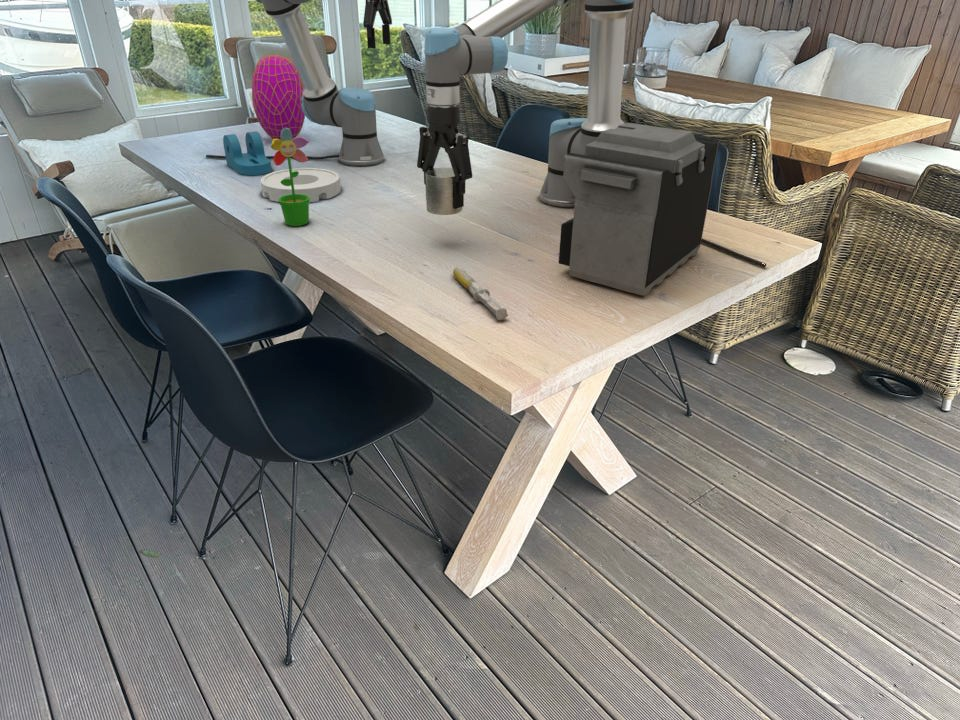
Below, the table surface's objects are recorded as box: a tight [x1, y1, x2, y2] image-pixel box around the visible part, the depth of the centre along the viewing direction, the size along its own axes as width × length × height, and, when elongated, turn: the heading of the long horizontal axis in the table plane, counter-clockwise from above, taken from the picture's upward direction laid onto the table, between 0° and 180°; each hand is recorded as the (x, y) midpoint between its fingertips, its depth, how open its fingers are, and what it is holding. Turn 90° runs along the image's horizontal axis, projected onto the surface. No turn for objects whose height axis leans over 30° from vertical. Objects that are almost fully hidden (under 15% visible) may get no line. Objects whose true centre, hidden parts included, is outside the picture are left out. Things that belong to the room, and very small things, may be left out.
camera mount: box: [222, 131, 272, 176], centre depth 226 cm, size 18×10×10 cm, turn 35°
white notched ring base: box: [260, 167, 342, 203], centre depth 207 cm, size 23×23×4 cm
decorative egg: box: [251, 54, 306, 141], centre depth 257 cm, size 19×19×30 cm
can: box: [425, 166, 463, 216], centre depth 164 cm, size 9×9×9 cm
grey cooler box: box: [558, 122, 720, 297], centre depth 154 cm, size 37×22×30 cm, turn 144°
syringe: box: [452, 266, 509, 321], centre depth 145 cm, size 25×4×3 cm, turn 21°
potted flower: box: [270, 128, 310, 227], centre depth 177 cm, size 9×8×25 cm
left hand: (379, 46), depth 251 cm, fingers open, 13 cm apart
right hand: (444, 202), depth 166 cm, fingers closed on can, 9 cm apart
